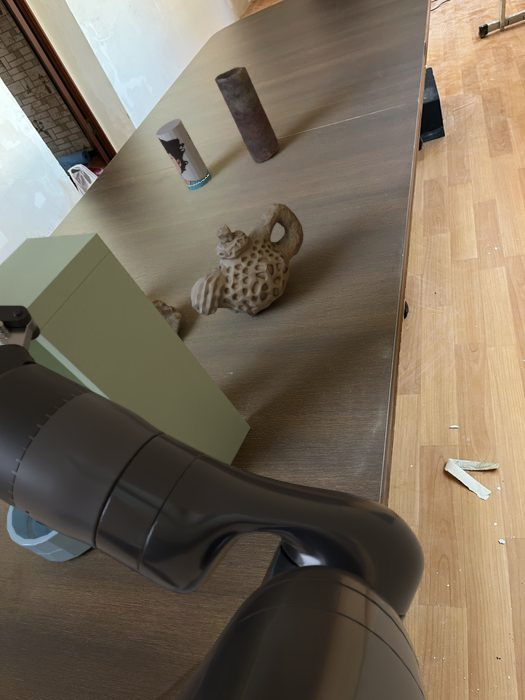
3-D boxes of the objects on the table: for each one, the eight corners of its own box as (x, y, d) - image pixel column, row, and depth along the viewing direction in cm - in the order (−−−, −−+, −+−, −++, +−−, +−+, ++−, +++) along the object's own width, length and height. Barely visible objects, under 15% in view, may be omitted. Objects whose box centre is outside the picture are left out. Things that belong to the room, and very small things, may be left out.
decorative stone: (180, 292, 84) (148, 367, 77) (194, 308, 87) (164, 381, 80) (139, 297, 89) (105, 368, 81) (153, 311, 92) (122, 381, 84)
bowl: (79, 579, 60) (45, 561, 56) (22, 542, 68) (-11, 525, 64) (142, 480, 66) (115, 457, 62) (83, 457, 74) (56, 436, 70)
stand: (213, 496, 59) (20, 315, 39) (148, 472, 67) (-45, 308, 46) (250, 427, 64) (96, 232, 43) (186, 411, 71) (27, 238, 50)
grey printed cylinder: (202, 172, 129) (171, 118, 119) (216, 174, 124) (185, 118, 114) (183, 188, 127) (151, 135, 117) (197, 191, 122) (164, 135, 112)
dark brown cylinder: (251, 155, 123) (213, 75, 110) (277, 141, 121) (242, 58, 108) (255, 167, 117) (216, 83, 104) (283, 152, 116) (247, 66, 103)
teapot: (232, 355, 75) (181, 284, 65) (201, 325, 84) (152, 258, 74) (336, 271, 78) (302, 190, 68) (296, 250, 87) (261, 176, 77)
